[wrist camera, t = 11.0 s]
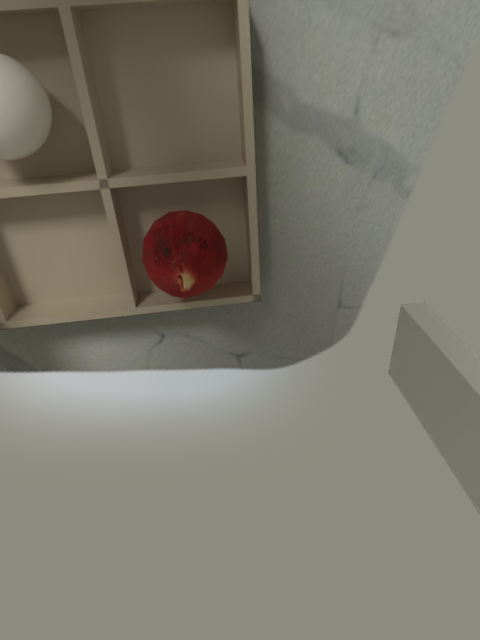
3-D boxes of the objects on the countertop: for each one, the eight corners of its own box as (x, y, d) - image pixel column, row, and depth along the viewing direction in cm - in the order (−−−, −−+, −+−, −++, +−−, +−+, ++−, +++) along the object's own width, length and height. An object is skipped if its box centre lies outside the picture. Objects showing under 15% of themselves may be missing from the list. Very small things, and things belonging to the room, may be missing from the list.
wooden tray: (13, 309, 35) (0, 329, 32) (-105, 10, 24) (-138, 4, 22) (255, 283, 36) (260, 301, 34) (241, -12, 26) (247, -20, 23)
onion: (129, 225, 32) (115, 270, 25) (194, 182, 31) (197, 217, 24) (176, 283, 35) (175, 338, 28) (236, 245, 34) (250, 293, 27)
